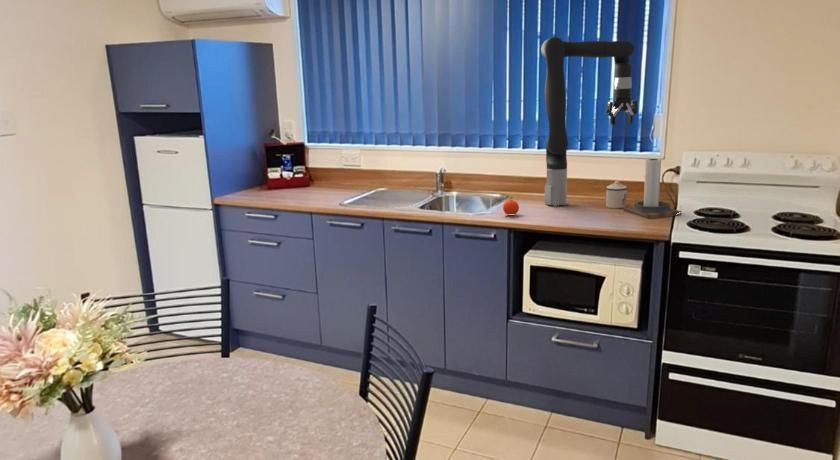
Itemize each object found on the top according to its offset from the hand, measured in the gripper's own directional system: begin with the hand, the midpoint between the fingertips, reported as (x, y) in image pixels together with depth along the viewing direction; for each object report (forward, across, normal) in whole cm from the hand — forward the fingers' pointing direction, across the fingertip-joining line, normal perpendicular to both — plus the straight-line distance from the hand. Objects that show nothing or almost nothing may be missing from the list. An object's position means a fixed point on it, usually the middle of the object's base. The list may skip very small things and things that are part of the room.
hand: (621, 124), depth 267 cm
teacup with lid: (+36, +6, +7) cm, 37 cm away
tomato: (+36, +56, +3) cm, 67 cm away
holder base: (+36, +1, +26) cm, 44 cm away
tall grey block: (+35, +2, +26) cm, 43 cm away
